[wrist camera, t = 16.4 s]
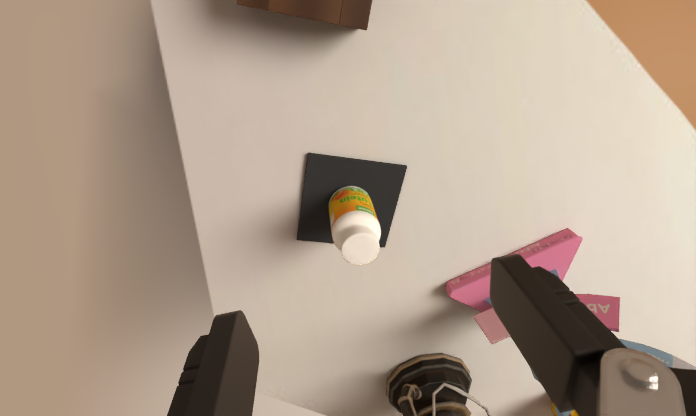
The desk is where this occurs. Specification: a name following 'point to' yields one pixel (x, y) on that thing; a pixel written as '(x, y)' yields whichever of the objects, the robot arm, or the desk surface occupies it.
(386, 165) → the mat
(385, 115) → the desk surface
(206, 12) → the desk surface
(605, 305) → the trophy
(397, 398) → the lantern
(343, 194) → the supplement bottle
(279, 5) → the holder
